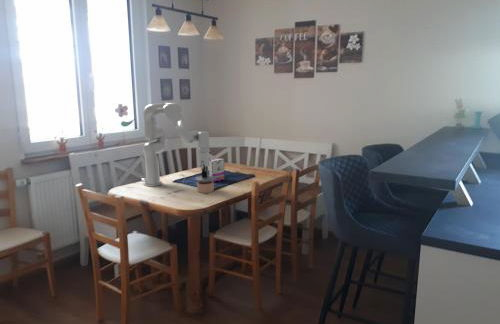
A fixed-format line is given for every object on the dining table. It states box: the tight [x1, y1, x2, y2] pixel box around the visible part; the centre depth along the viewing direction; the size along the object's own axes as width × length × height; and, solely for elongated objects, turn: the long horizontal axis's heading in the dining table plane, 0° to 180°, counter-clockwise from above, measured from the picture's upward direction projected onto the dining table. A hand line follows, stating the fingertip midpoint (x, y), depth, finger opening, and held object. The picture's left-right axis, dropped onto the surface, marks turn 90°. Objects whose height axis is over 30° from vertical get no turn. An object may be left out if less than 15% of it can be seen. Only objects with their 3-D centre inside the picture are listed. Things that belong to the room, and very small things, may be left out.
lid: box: [194, 168, 216, 182], centre depth 272 cm, size 14×14×7 cm
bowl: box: [196, 181, 215, 194], centre depth 274 cm, size 11×11×6 cm
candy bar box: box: [208, 158, 226, 183], centre depth 299 cm, size 11×5×16 cm, turn 129°
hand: (205, 175), depth 272 cm, fingers closed on lid, 3 cm apart
